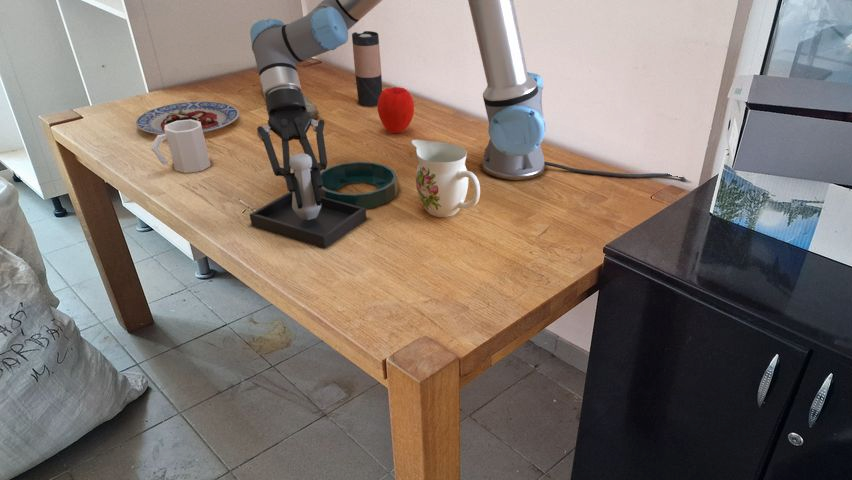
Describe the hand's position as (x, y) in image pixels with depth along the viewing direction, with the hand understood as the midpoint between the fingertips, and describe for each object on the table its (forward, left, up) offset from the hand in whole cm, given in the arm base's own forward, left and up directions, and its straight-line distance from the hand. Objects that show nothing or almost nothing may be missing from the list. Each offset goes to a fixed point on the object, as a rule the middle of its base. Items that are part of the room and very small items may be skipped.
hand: (309, 204), depth 128 cm
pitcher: (-19, -20, -6) cm, 29 cm away
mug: (+46, -9, -6) cm, 47 cm away
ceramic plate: (+67, -30, -6) cm, 74 cm away
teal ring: (+3, -19, -6) cm, 20 cm away
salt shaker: (+3, -2, -4) cm, 6 cm away
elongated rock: (+56, -57, -6) cm, 80 cm away
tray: (+3, -2, -6) cm, 7 cm away
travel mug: (+36, -70, -6) cm, 79 cm away
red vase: (+16, -54, -6) cm, 57 cm away
